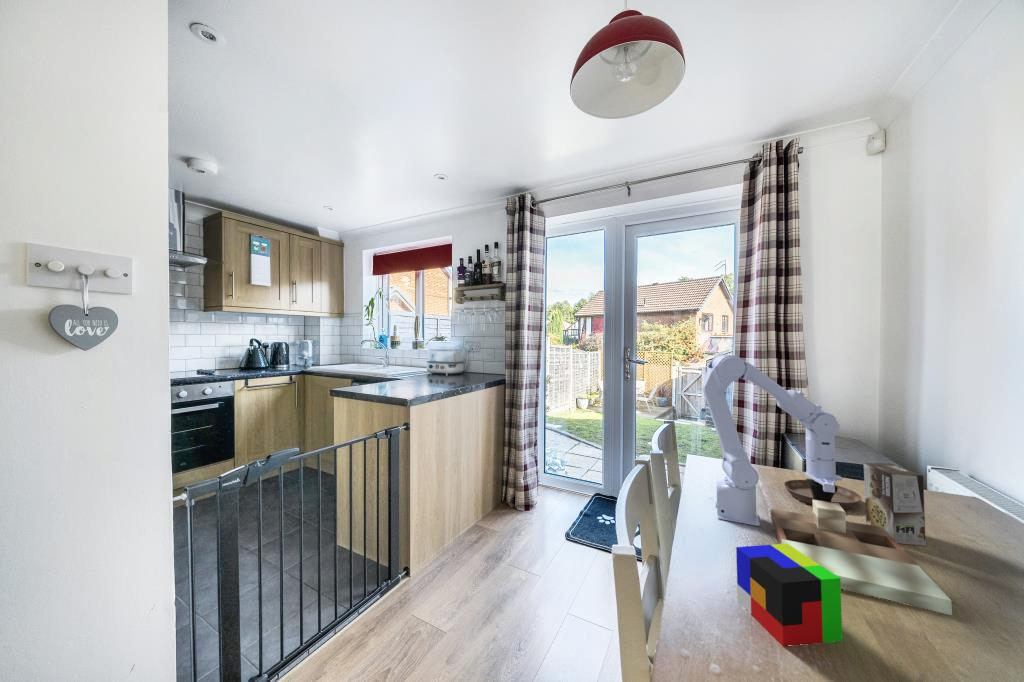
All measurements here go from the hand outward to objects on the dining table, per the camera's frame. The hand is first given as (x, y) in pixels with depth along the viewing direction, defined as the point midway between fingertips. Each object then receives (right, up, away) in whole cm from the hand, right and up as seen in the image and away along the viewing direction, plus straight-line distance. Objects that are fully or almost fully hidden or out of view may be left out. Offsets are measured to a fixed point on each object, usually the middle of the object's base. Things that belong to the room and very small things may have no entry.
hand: (821, 510), depth 92 cm
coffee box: (+13, -4, -5) cm, 15 cm away
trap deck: (-7, -4, -13) cm, 15 cm away
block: (-3, -1, -5) cm, 6 cm away
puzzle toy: (-33, -4, -31) cm, 45 cm away
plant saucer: (+13, -4, +16) cm, 21 cm away
